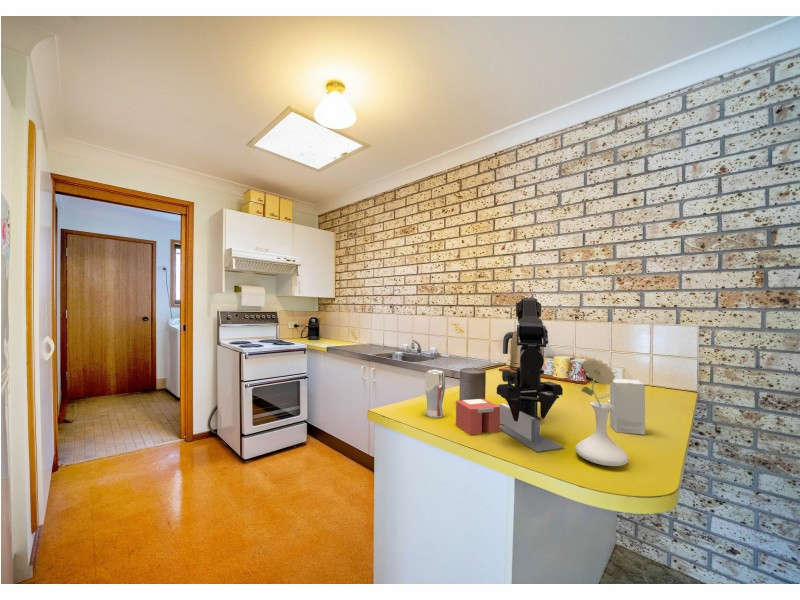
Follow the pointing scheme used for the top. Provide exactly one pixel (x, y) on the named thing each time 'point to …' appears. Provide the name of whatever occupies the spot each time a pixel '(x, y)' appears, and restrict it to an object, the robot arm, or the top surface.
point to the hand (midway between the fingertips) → (529, 419)
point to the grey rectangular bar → (520, 423)
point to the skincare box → (627, 406)
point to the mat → (541, 446)
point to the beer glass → (434, 392)
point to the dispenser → (477, 416)
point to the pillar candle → (472, 384)
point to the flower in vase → (600, 421)
